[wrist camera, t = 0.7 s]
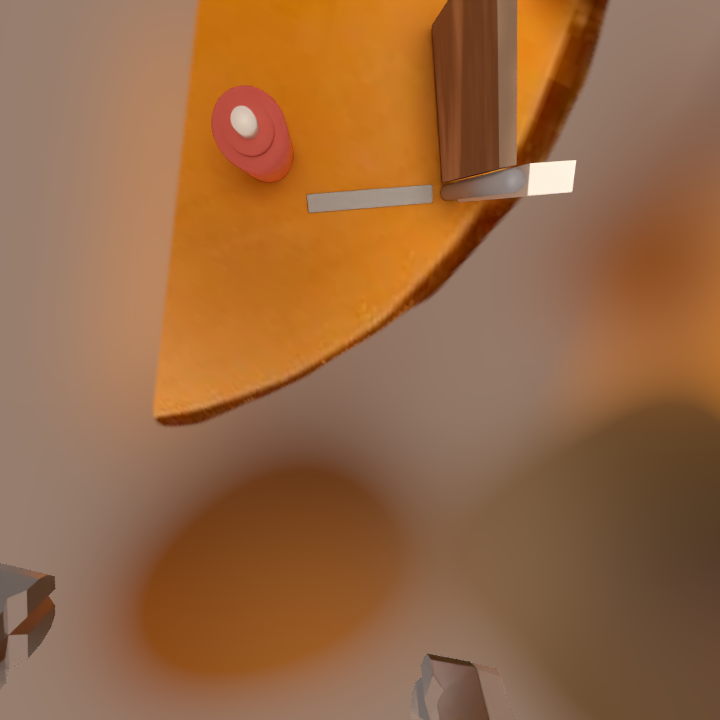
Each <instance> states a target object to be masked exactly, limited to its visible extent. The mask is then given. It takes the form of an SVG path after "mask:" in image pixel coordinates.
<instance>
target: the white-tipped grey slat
mask: <svg viewBox="0 0 720 720" xmlns="http://www.w3.org/2000/svg"><path fill="white" fill-rule="evenodd" d="M575 165H576V160H572V161H558V162H544V163H531V164H526V165H522V166H518V167H514V168H510V169H506V170H501V171H497V172H493V173H489V174H485V175H481V176H476V177H472V178H468V179H464V180H460V181H458V182H456V183H451V184H447V185H445V186H443V187H442V189H441V192H440V195H441V197H442V199H444V200H456V199H457V202H467V201H479V200H490V199H501V198H512V197H523V196H533V195H544V194H555V193H565V192H572V189H573V181H574V173H575ZM307 201H308V210H309V213H313V212H325V211H337V210H349V209H361V208H373V207H385V206H397V205H409V204H422V203H432V185H421V186H409V187H396V188H383V189H370V190H358V191H345V192H332V193H319V194H307Z"/></svg>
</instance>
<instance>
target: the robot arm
mask: <svg viewBox="0 0 720 720" xmlns="http://www.w3.org/2000/svg"><path fill="white" fill-rule="evenodd" d="M54 590H55V576H52V575H47V574H43V573H39V572H35V571H31V570H27V569H23V568H19V567H15V566H11V565H7V564H2V563H0V689H1V688H2V687H3V686H4V685H5V684H6V680H7V676H8V672H9V669H11V668H12V667H14V666H16V665H18V664H19V663H21V662H23V661H25V660H27V659H28V658H29V657H30V656H31V655H32V653H33V652H34V651H35V650H36V649H37V648H38V647H39V646H40V644H41V643H42V641H43V640H44V638H45V636H46V635H47V633H48V632H49V630H50V628H51V626H52V623H53V620H54V616H55V604H54V603H53V601H52V600H51V599H50V597H49V595H50V594H51V593H52V592H53V591H54ZM421 671H422V678H420V679H419V680H417V681H416V682H415V686H414V690H413V693H412V701H411V710H410V712H411V713H410V720H514V716H513V713H512V710H511V707H510V704H509V700H508V697H507V694H506V691H505V688H504V685H503V681H502V679H501V675H500V673H499V672H498V670H497V669H496V668H494V667H490V666H485V665H481V664H475V663H471V662H469V661H464V660H459V659H454V658H449V657H443V656H438V655H433V654H428V653H427V654H426V655H425V656H424V658H423V661H422V664H421Z"/></svg>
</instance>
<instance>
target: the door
mask: <svg viewBox="0 0 720 720" xmlns="http://www.w3.org/2000/svg"><path fill="white" fill-rule="evenodd" d="M432 32H433V48H434V63H435V78H436V93H437V108H438V123H439V138H440V153H441V168H442V182H448V181H454V180H458V179H462V178H466V177H470V176H474V175H478V174H482V173H486V172H490V171H494V170H498V169H502V168H506V167H510V166H514V165H516V149H517V0H448V1H447V3H446V4H445V6H444V7H443V9H442V11H441V12H440V14H439V15H438V17H437V18H436V20H435V22H434V23H433V25H432Z"/></svg>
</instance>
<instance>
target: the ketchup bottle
mask: <svg viewBox="0 0 720 720" xmlns="http://www.w3.org/2000/svg"><path fill="white" fill-rule="evenodd" d="M212 132H213V136H214V139H215V141H216V144H217V146H218V148H219V149H220V151H221V152H222V154H223V155H224V156H225V157H226V158H227V159H228V160H229V161H230V162H232V163H233V164H235V165H236V166H237V167H239V168H240V169H242V170H243V171H245V172H246V173H248V174H249V175H251V176H252V177H254V178H256V179H257V180H260V181H263V182H275V181H278V180H280V179H282V178H283V177H285V176H286V175H287V173H288V172H289V170H290V169H291V166H292V163H293V147H292V144H291V140H290V136H289V133H288V129H287V125H286V122H285V119H284V116H283V113H282V111H281V109H280V107H279V106H278V104H277V103H276V102H275V101H274V99H273V98H272V97H271V96H269V95H268V94H267V93H266V92H264V91H262V90H260V89H258V88H256V87H252V86H237V87H233V88H231V89H229V90H227V91H226V92H225V93H224V94H222V95H221V97H220V98H219V99H218V101H217V103H216V104H215V107H214V109H213V114H212Z"/></svg>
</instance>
